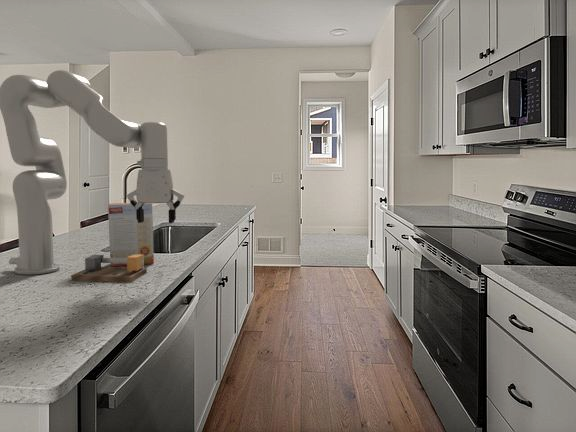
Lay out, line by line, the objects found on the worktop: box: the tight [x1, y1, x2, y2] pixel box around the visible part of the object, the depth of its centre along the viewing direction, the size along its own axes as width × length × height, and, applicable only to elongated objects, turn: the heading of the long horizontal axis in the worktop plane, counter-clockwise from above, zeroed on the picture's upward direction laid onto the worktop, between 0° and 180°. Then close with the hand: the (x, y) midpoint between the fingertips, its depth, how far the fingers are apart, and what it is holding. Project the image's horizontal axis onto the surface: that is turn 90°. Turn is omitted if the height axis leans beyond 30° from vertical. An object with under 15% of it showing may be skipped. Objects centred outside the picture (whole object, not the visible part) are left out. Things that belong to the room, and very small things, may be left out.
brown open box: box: [70, 266, 148, 283], centre depth 145 cm, size 18×12×2 cm, turn 86°
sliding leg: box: [126, 254, 144, 273], centre depth 145 cm, size 3×10×4 cm, turn 176°
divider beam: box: [84, 254, 145, 274], centre depth 146 cm, size 17×9×4 cm, turn 86°
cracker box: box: [107, 202, 155, 267], centre depth 163 cm, size 14×6×21 cm, turn 113°
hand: (156, 222), depth 144 cm, fingers open, 9 cm apart
